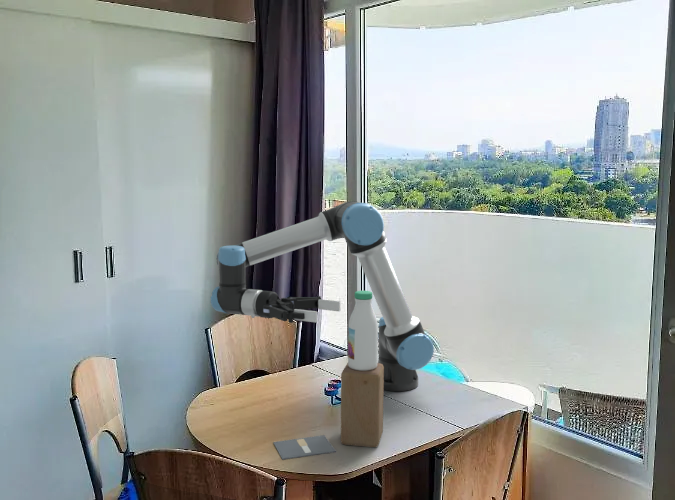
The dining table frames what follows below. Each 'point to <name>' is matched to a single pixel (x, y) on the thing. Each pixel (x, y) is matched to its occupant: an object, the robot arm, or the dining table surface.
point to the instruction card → (304, 447)
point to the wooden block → (362, 406)
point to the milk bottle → (363, 334)
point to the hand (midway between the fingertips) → (328, 311)
